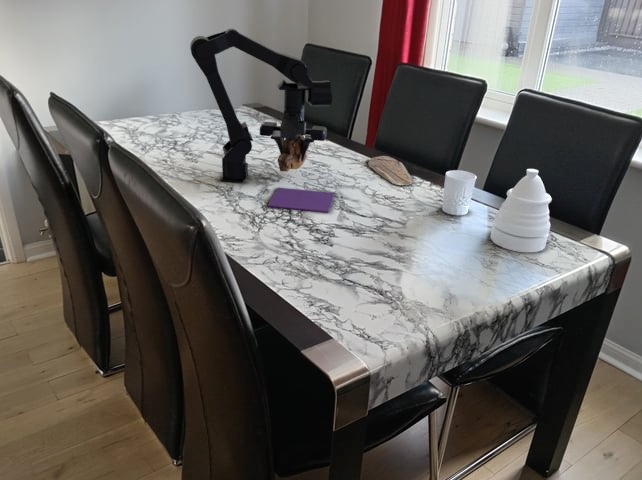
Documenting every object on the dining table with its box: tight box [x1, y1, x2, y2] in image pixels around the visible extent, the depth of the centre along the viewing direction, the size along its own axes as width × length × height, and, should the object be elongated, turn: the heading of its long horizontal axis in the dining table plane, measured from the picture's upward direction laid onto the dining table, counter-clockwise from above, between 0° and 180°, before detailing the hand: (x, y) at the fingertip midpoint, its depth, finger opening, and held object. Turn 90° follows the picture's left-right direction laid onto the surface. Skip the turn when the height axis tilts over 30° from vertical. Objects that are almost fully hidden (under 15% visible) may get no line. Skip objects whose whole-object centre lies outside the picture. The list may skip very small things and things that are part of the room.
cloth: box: [267, 187, 335, 214], centre depth 156 cm, size 16×14×1 cm
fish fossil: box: [367, 155, 413, 186], centre depth 181 cm, size 26×10×1 cm, turn 18°
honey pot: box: [490, 168, 553, 253], centre depth 135 cm, size 13×13×18 cm
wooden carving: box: [277, 135, 310, 173], centre depth 168 cm, size 16×5×10 cm, turn 161°
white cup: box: [441, 169, 477, 216], centre depth 152 cm, size 8×8×10 cm
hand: (292, 160), depth 169 cm, fingers closed on wooden carving, 5 cm apart
